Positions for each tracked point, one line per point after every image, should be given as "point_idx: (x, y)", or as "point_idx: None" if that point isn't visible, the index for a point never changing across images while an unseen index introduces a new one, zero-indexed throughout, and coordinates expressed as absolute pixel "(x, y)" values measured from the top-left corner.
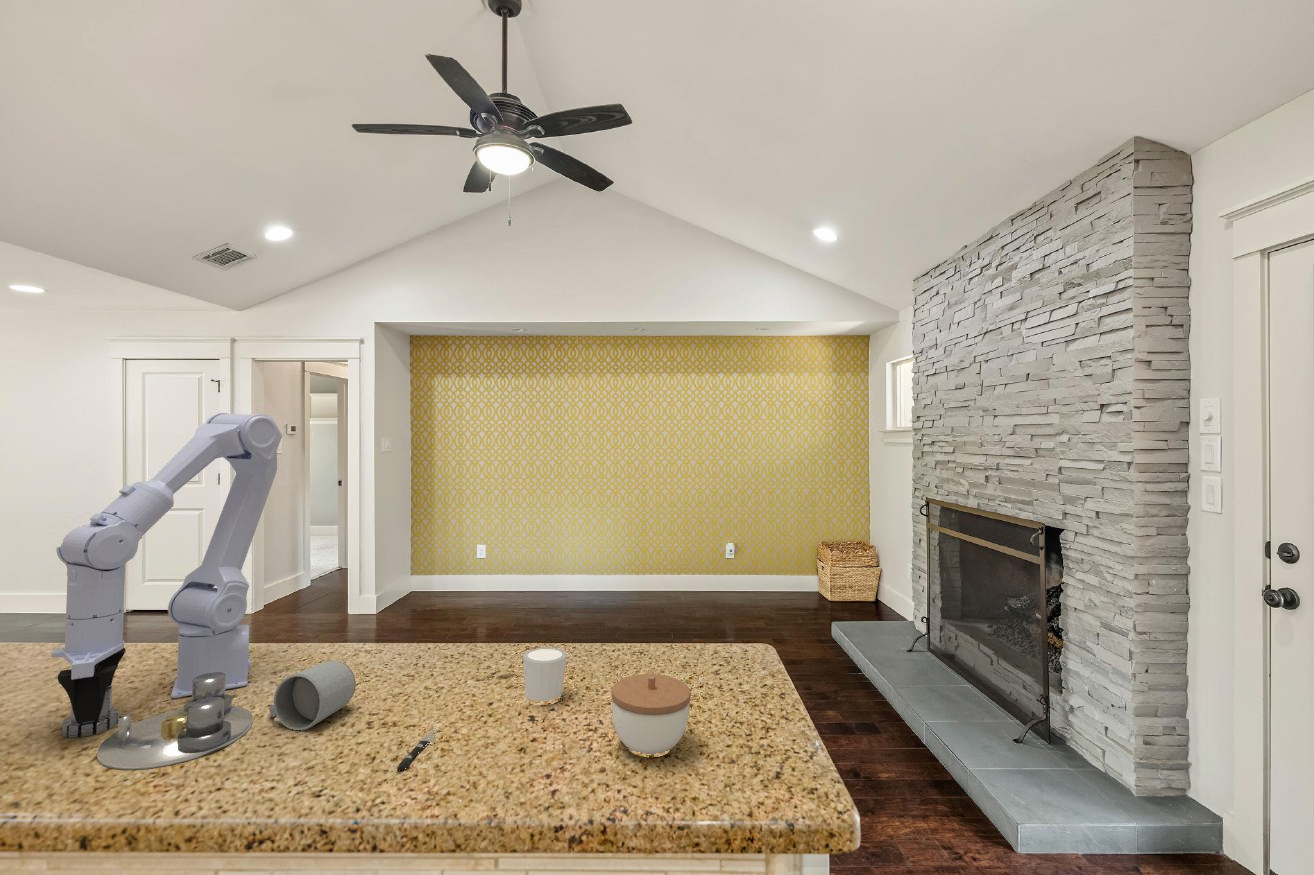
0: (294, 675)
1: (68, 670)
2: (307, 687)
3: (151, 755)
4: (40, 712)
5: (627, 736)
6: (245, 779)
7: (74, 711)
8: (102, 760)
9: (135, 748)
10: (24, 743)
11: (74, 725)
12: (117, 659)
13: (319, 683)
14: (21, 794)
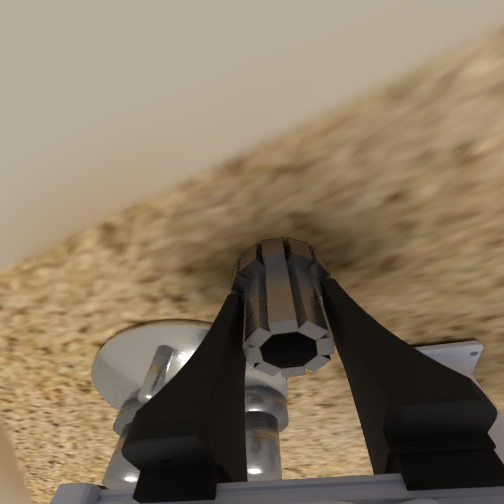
0: None
1: (195, 451)
2: None
3: (117, 383)
4: (479, 116)
5: None
6: (75, 434)
7: (217, 317)
8: (109, 342)
9: (143, 365)
10: (237, 182)
11: (236, 283)
12: (370, 457)
13: None
14: (15, 277)
